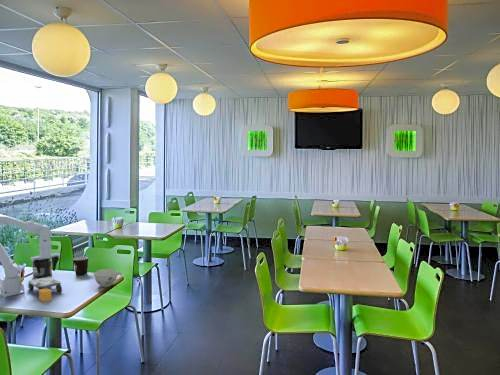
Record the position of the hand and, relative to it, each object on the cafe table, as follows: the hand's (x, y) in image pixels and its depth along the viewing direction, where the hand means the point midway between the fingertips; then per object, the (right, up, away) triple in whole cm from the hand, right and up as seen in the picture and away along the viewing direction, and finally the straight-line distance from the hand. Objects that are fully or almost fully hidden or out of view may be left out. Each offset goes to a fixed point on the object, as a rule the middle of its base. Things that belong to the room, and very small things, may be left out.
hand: (46, 271), depth 235 cm
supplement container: (-14, -8, +25) cm, 30 cm away
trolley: (+1, -10, -4) cm, 10 cm away
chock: (+8, -11, -17) cm, 22 cm away
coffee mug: (+9, -8, +27) cm, 29 cm away
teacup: (+32, -9, +5) cm, 34 cm away
